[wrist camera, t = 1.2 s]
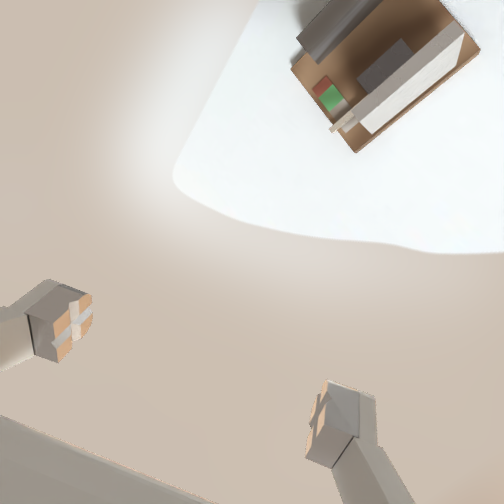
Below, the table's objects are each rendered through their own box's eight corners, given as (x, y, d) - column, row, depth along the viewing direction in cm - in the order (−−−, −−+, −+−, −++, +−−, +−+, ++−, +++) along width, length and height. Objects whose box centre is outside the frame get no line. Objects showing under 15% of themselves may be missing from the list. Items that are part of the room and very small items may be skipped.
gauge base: (478, 54, 34) (487, 32, 30) (356, 153, 41) (347, 148, 36) (401, -36, 36) (397, -72, 31) (294, 72, 42) (277, 57, 37)
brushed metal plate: (454, 69, 34) (464, 32, 26) (349, 155, 39) (330, 146, 31) (420, 28, 35) (419, -21, 26) (321, 118, 40) (295, 100, 32)
